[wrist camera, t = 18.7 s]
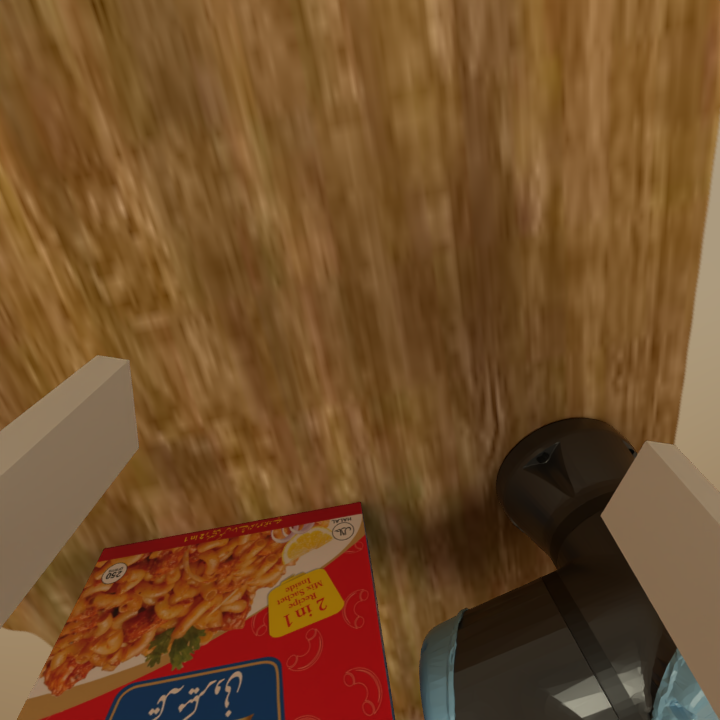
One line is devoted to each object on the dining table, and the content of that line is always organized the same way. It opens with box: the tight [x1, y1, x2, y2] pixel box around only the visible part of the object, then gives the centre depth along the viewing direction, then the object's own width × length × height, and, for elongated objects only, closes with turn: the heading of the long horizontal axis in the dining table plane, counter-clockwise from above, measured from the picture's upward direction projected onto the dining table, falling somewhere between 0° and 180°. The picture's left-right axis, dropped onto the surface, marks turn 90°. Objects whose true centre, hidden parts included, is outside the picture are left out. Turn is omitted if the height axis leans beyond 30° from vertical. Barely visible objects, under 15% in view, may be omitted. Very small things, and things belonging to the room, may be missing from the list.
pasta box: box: [17, 502, 395, 720], centre depth 36 cm, size 28×8×28 cm, turn 97°
